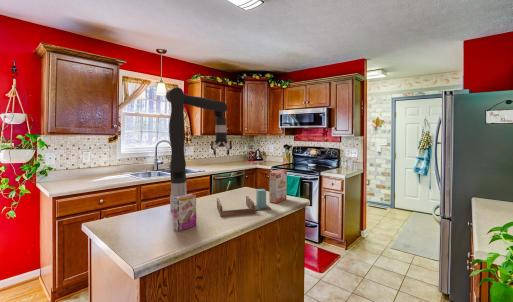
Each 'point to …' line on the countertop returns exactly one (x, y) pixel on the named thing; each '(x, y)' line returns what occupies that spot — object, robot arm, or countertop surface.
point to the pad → (262, 208)
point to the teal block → (261, 198)
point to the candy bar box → (184, 212)
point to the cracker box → (278, 186)
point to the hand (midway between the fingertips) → (221, 155)
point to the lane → (239, 211)
